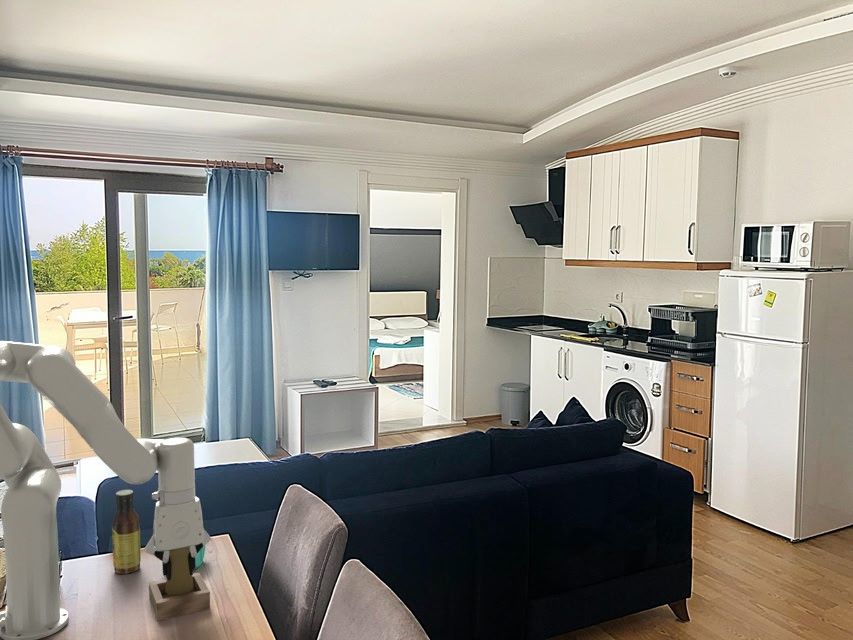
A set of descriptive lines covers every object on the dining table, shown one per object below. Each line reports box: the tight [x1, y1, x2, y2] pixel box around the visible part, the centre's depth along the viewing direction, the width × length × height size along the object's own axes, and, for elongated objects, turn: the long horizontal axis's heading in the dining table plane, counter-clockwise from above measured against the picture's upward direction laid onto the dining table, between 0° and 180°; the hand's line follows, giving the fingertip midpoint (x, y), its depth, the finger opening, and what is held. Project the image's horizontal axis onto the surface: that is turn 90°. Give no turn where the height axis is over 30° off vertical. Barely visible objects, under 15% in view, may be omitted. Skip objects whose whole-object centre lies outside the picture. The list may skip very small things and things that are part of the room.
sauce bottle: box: [111, 489, 142, 575], centre depth 171 cm, size 7×6×20 cm
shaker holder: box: [148, 572, 211, 622], centre depth 154 cm, size 11×11×4 cm
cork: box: [165, 547, 194, 595], centre depth 154 cm, size 6×6×11 cm
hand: (179, 574), depth 154 cm, fingers closed on cork, 4 cm apart
